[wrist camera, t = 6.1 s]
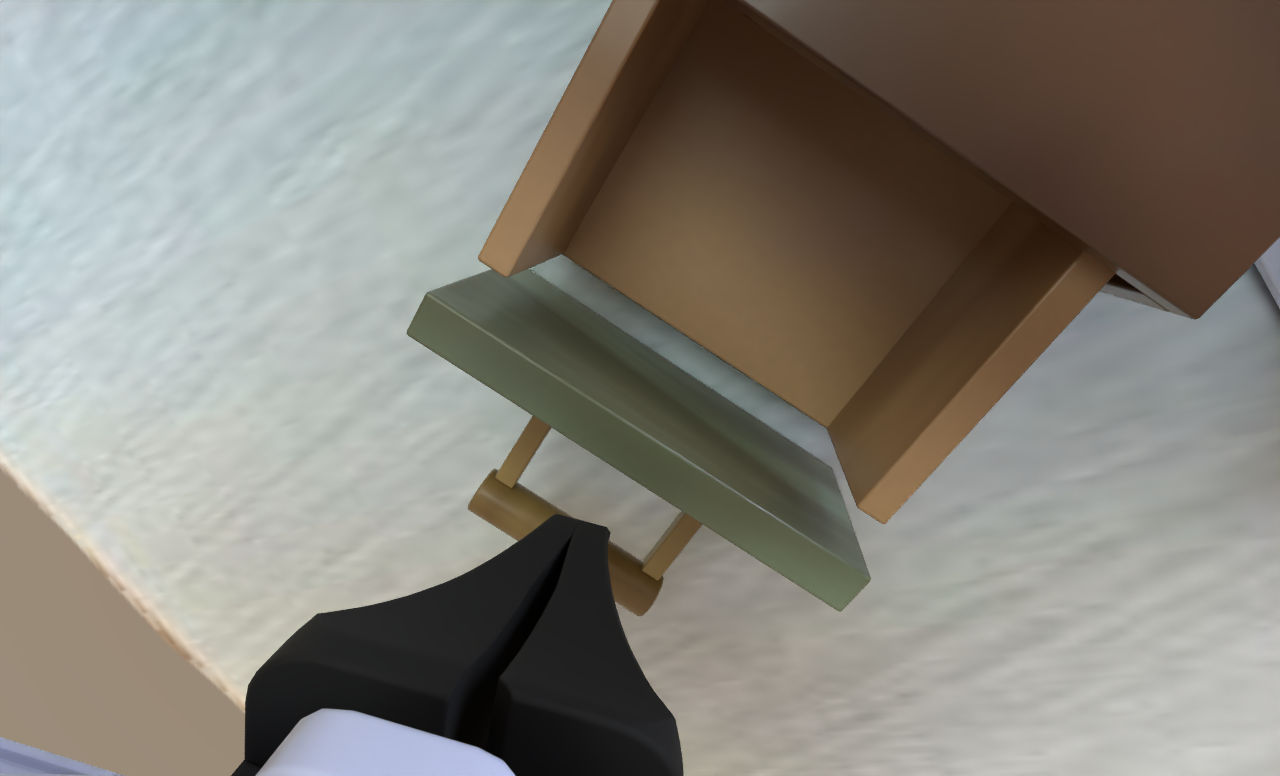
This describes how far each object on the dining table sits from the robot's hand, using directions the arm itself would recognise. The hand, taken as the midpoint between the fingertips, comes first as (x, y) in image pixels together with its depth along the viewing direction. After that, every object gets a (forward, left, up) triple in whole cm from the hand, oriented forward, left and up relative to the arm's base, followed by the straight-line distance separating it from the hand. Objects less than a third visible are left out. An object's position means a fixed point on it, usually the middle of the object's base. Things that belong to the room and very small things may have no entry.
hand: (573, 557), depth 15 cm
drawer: (+2, -5, -7) cm, 9 cm away
